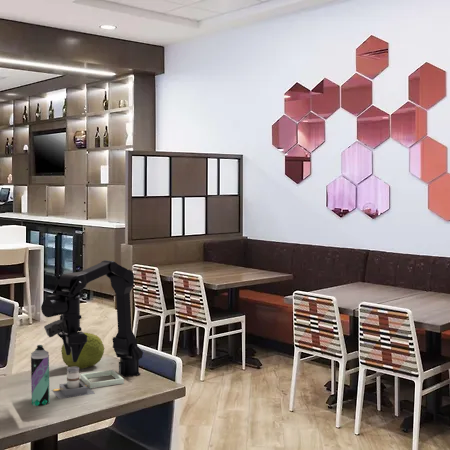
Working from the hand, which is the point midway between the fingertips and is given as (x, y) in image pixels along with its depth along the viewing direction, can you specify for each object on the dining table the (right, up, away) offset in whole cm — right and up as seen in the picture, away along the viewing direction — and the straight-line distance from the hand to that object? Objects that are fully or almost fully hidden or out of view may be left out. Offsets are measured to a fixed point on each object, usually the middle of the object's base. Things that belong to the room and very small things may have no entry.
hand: (71, 358), depth 218 cm
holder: (+1, -13, 0) cm, 13 cm away
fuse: (+1, -11, 0) cm, 11 cm away
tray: (+8, -12, +12) cm, 19 cm away
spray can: (-7, -14, -10) cm, 19 cm away
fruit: (-3, -11, +33) cm, 35 cm away
